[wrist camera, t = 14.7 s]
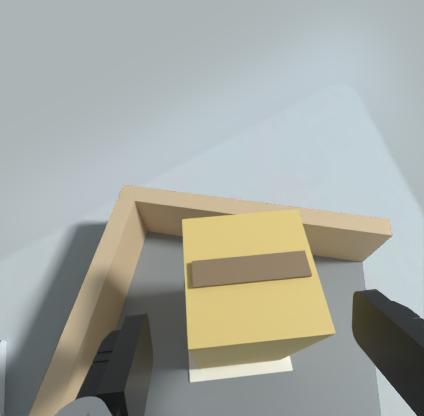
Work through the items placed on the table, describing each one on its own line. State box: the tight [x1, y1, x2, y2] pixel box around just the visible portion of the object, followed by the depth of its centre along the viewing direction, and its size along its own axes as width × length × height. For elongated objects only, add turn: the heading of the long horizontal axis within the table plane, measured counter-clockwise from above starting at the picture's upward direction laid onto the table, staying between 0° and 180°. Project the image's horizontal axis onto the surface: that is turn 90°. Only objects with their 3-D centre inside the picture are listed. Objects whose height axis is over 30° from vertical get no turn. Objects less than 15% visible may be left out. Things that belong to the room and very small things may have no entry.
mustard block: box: [182, 209, 336, 369], centre depth 15 cm, size 5×5×10 cm
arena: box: [29, 185, 393, 416], centre depth 17 cm, size 18×16×5 cm
